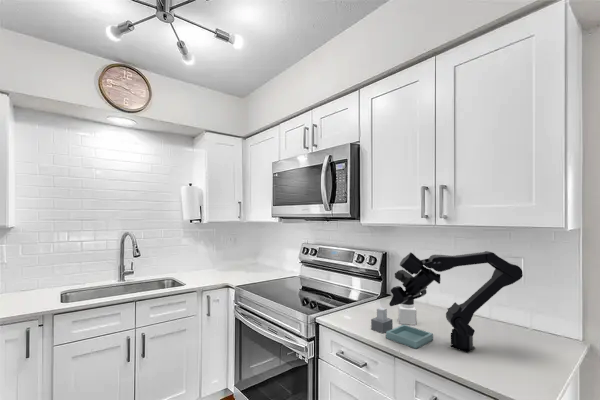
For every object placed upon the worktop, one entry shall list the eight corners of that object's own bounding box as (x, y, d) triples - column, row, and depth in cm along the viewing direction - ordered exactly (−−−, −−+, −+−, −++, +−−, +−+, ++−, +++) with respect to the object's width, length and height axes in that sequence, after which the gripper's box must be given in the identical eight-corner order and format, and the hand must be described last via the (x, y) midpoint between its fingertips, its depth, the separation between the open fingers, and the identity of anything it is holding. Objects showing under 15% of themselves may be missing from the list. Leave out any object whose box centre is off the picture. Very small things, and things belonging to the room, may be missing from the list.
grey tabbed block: (392, 329, 131) (392, 308, 132) (383, 333, 127) (382, 312, 127) (380, 325, 136) (380, 305, 136) (371, 329, 131) (371, 308, 132)
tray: (433, 340, 121) (433, 333, 121) (416, 349, 112) (416, 342, 112) (403, 330, 131) (403, 324, 131) (386, 338, 122) (386, 331, 122)
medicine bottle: (416, 325, 137) (416, 298, 137) (400, 324, 138) (399, 297, 139) (413, 320, 144) (413, 294, 144) (398, 318, 145) (397, 293, 146)
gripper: (419, 262, 129) (396, 283, 137) (394, 266, 117) (371, 290, 125) (437, 284, 123) (412, 305, 131) (414, 291, 111) (388, 314, 119)
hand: (396, 303), depth 126 cm, fingers open, 9 cm apart
